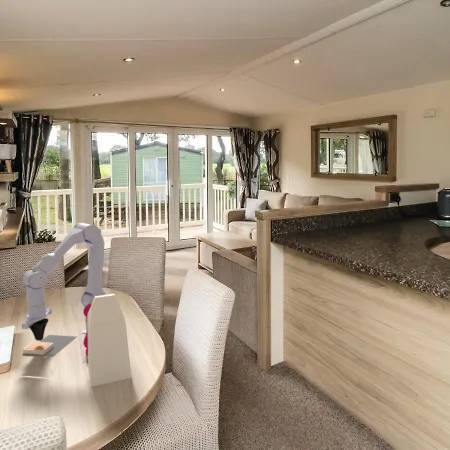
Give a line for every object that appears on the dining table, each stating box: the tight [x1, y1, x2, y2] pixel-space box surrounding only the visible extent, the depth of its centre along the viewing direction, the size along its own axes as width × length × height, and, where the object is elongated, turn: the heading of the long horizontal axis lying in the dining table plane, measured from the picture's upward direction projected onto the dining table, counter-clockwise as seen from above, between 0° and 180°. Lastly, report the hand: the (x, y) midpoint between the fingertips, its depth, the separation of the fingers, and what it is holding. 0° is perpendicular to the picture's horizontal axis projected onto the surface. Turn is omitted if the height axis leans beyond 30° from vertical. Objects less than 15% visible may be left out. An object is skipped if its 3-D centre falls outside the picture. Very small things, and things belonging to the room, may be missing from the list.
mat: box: [22, 334, 77, 357], centre depth 143 cm, size 12×16×1 cm
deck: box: [22, 341, 54, 355], centre depth 139 cm, size 8×2×6 cm
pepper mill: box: [82, 299, 93, 357], centre depth 136 cm, size 7×7×20 cm
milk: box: [87, 293, 132, 388], centre depth 122 cm, size 12×12×26 cm
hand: (39, 339), depth 139 cm, fingers closed
